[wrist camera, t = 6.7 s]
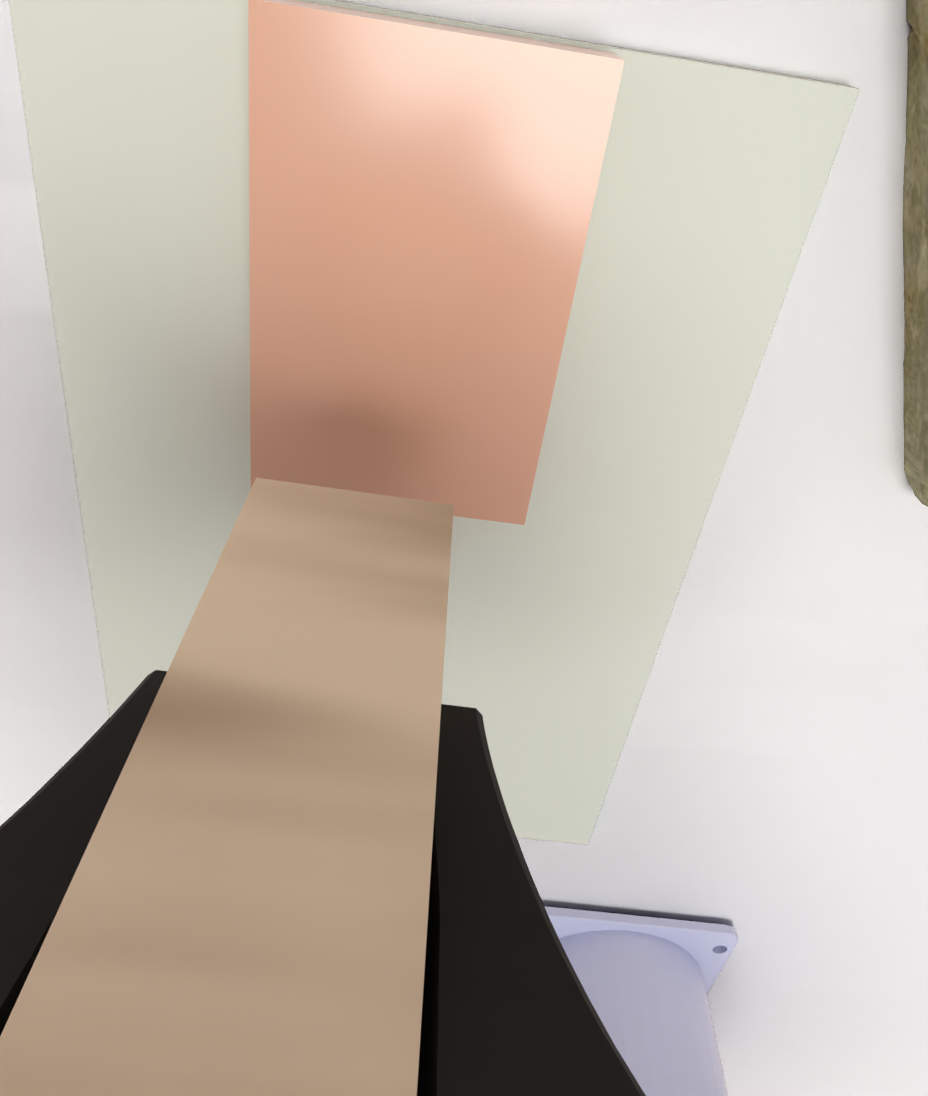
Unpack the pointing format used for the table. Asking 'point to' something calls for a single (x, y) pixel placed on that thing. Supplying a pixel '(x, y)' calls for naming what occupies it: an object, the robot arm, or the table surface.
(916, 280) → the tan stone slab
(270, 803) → the tan wood plank
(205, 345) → the sage mat
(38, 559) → the table surface
